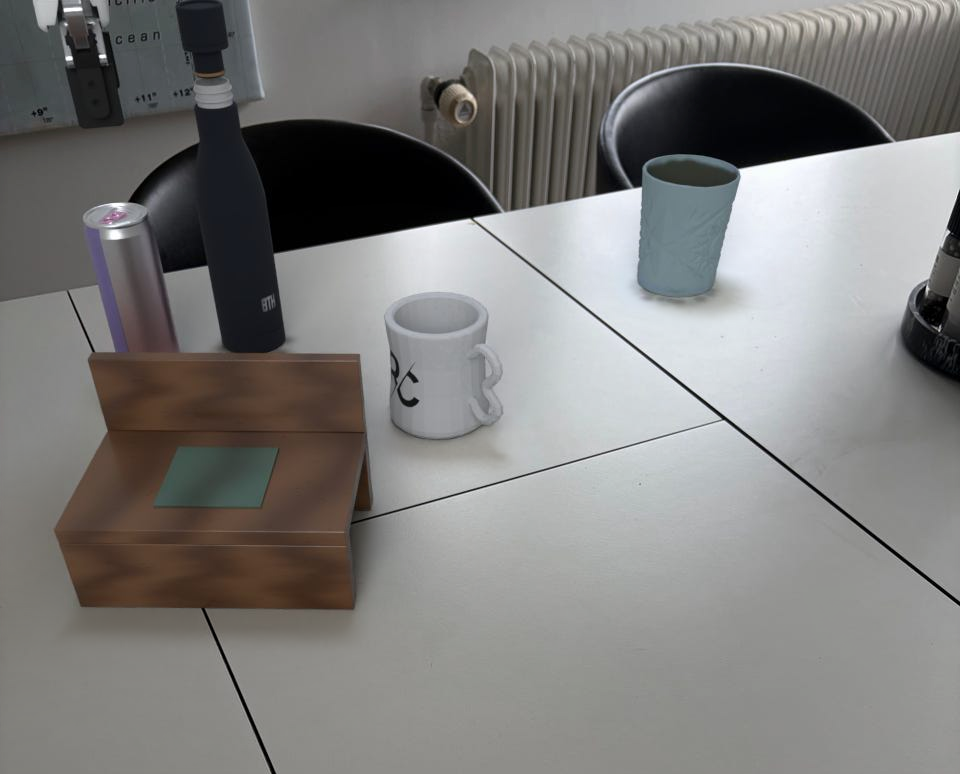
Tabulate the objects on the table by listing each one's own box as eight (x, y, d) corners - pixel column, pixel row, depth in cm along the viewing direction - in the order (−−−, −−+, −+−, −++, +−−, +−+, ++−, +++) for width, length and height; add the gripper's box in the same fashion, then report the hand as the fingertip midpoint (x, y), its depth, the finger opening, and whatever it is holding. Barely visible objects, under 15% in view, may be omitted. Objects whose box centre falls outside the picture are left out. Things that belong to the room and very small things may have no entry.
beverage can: (109, 377, 101) (66, 222, 91) (141, 350, 105) (104, 198, 95) (163, 386, 100) (126, 229, 89) (194, 358, 104) (162, 205, 94)
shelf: (80, 607, 76) (26, 454, 67) (132, 496, 86) (91, 351, 77) (353, 610, 75) (336, 456, 66) (373, 498, 86) (360, 353, 77)
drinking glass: (621, 266, 120) (631, 156, 112) (705, 259, 121) (720, 150, 113) (647, 303, 112) (660, 189, 104) (736, 296, 114) (755, 182, 105)
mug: (369, 417, 95) (360, 313, 88) (441, 382, 100) (438, 281, 93) (464, 469, 89) (462, 362, 82) (536, 429, 93) (540, 325, 87)
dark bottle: (229, 325, 109) (170, -5, 89) (290, 326, 109) (244, -5, 88) (216, 354, 104) (150, 12, 84) (279, 355, 104) (228, 12, 84)
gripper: (-16, -186, 74) (52, 81, 85) (-34, -161, 61) (48, 146, 73) (94, -188, 75) (146, 74, 87) (98, -165, 63) (157, 137, 74)
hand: (101, 107), depth 80 cm, fingers open, 9 cm apart
